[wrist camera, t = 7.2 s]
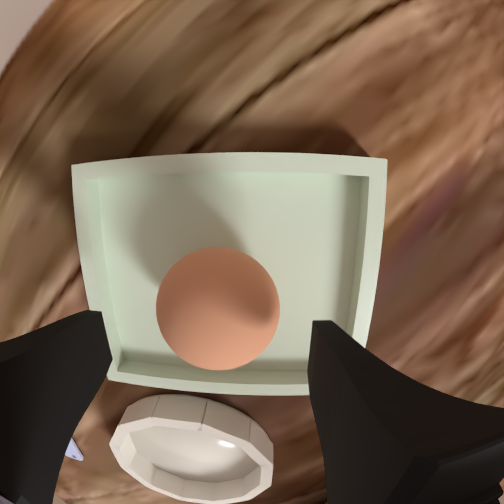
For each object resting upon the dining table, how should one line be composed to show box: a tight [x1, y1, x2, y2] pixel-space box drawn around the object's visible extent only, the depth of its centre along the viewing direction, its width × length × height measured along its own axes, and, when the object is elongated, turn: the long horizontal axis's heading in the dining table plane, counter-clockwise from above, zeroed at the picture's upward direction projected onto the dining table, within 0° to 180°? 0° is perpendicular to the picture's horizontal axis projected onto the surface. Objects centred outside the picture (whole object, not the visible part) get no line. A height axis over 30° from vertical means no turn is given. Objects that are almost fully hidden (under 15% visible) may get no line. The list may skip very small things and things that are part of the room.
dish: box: [110, 394, 273, 504], centre depth 19 cm, size 12×12×2 cm
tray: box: [71, 152, 387, 395], centre depth 15 cm, size 14×12×2 cm
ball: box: [156, 247, 280, 370], centre depth 12 cm, size 5×5×5 cm
